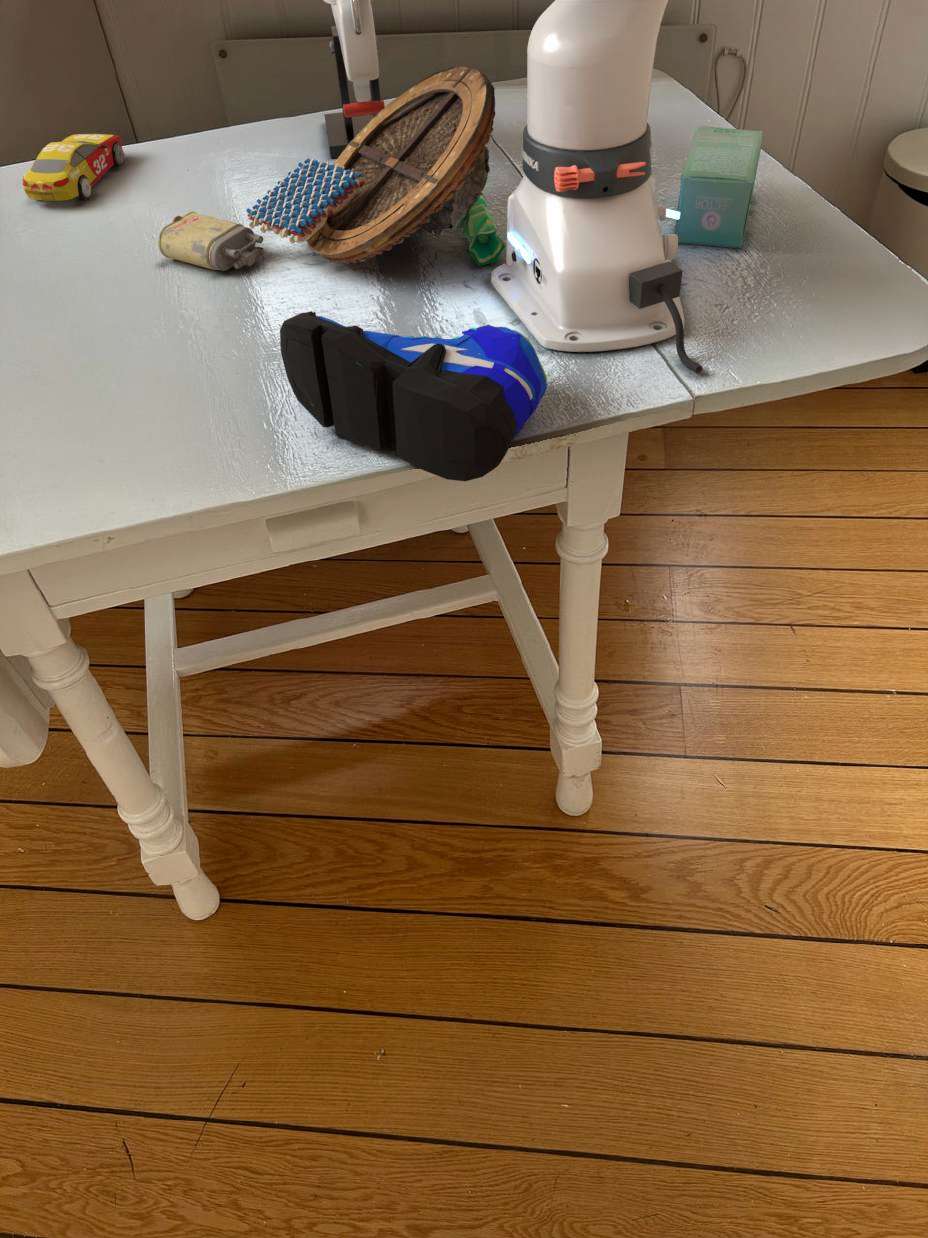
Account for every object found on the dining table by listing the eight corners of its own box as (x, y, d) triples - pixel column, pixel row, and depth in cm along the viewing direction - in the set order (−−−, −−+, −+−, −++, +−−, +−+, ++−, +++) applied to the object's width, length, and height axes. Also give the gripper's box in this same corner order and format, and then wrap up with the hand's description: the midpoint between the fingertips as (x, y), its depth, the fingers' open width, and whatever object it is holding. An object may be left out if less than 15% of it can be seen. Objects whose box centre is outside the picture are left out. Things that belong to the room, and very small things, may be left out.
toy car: (133, 154, 126) (122, 115, 122) (78, 211, 114) (64, 170, 110) (80, 153, 127) (67, 113, 123) (20, 210, 115) (4, 168, 112)
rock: (433, 278, 98) (516, 259, 101) (431, 177, 90) (521, 160, 93) (368, 217, 108) (445, 201, 111) (361, 122, 101) (444, 108, 104)
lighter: (161, 262, 103) (232, 282, 100) (152, 228, 101) (224, 247, 97) (204, 236, 108) (273, 254, 104) (196, 203, 105) (267, 220, 101)
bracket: (406, 150, 122) (396, 38, 113) (330, 158, 121) (314, 47, 112) (397, 117, 130) (387, 11, 121) (325, 125, 129) (310, 19, 120)
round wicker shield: (449, 71, 107) (300, 233, 112) (433, 47, 105) (282, 214, 110) (542, 110, 89) (359, 303, 93) (524, 83, 87) (338, 281, 91)
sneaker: (266, 409, 82) (375, 344, 91) (488, 503, 72) (585, 421, 81) (251, 308, 76) (369, 250, 85) (492, 397, 66) (597, 320, 75)
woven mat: (314, 168, 104) (305, 152, 103) (372, 185, 98) (364, 168, 96) (247, 228, 102) (238, 211, 100) (303, 249, 96) (294, 232, 94)
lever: (385, 118, 116) (384, 103, 114) (345, 123, 116) (343, 107, 113) (372, 42, 119) (371, 25, 117) (333, 46, 119) (331, 30, 117)
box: (671, 245, 100) (680, 173, 95) (687, 193, 109) (696, 124, 103) (742, 251, 99) (755, 178, 93) (751, 197, 107) (764, 128, 102)
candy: (472, 178, 104) (492, 207, 107) (447, 197, 105) (467, 225, 108) (489, 223, 96) (510, 254, 99) (462, 244, 97) (484, 273, 100)
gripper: (383, -17, 97) (397, 125, 107) (367, -62, 111) (380, 68, 121) (323, -11, 97) (342, 131, 107) (314, -56, 110) (332, 73, 121)
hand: (362, 97), depth 114 cm, fingers closed
